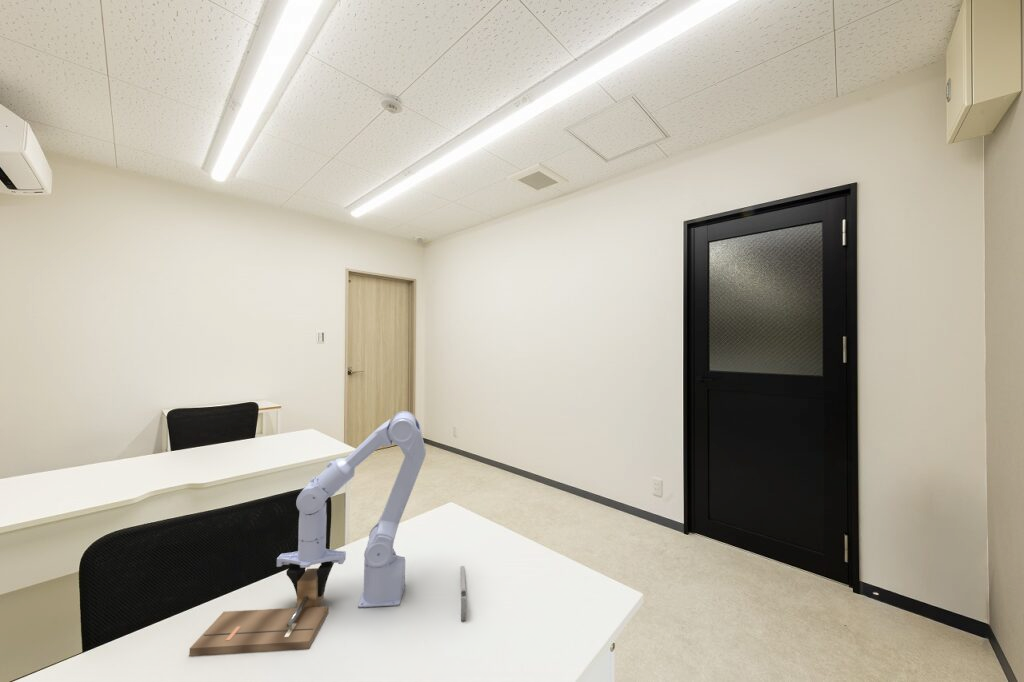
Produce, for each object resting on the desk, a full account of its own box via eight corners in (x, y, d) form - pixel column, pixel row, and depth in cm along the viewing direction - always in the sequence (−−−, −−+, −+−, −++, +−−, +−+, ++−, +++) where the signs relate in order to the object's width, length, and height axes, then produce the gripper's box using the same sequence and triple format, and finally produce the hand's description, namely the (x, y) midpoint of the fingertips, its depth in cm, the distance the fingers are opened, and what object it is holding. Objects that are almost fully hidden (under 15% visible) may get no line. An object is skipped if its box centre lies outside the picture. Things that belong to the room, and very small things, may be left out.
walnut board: (328, 612, 85) (328, 605, 85) (309, 648, 75) (309, 640, 75) (223, 618, 82) (223, 611, 82) (189, 656, 72) (189, 647, 72)
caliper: (465, 623, 83) (466, 594, 83) (460, 623, 83) (461, 594, 83) (464, 568, 103) (464, 545, 103) (460, 568, 103) (460, 545, 103)
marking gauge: (323, 597, 90) (324, 567, 90) (298, 640, 77) (299, 605, 77) (306, 598, 89) (307, 568, 89) (278, 641, 76) (279, 606, 76)
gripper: (270, 546, 82) (268, 608, 82) (338, 543, 84) (337, 604, 84) (286, 530, 89) (284, 587, 89) (349, 528, 91) (347, 584, 91)
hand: (310, 594), depth 87 cm, fingers closed on marking gauge, 4 cm apart
